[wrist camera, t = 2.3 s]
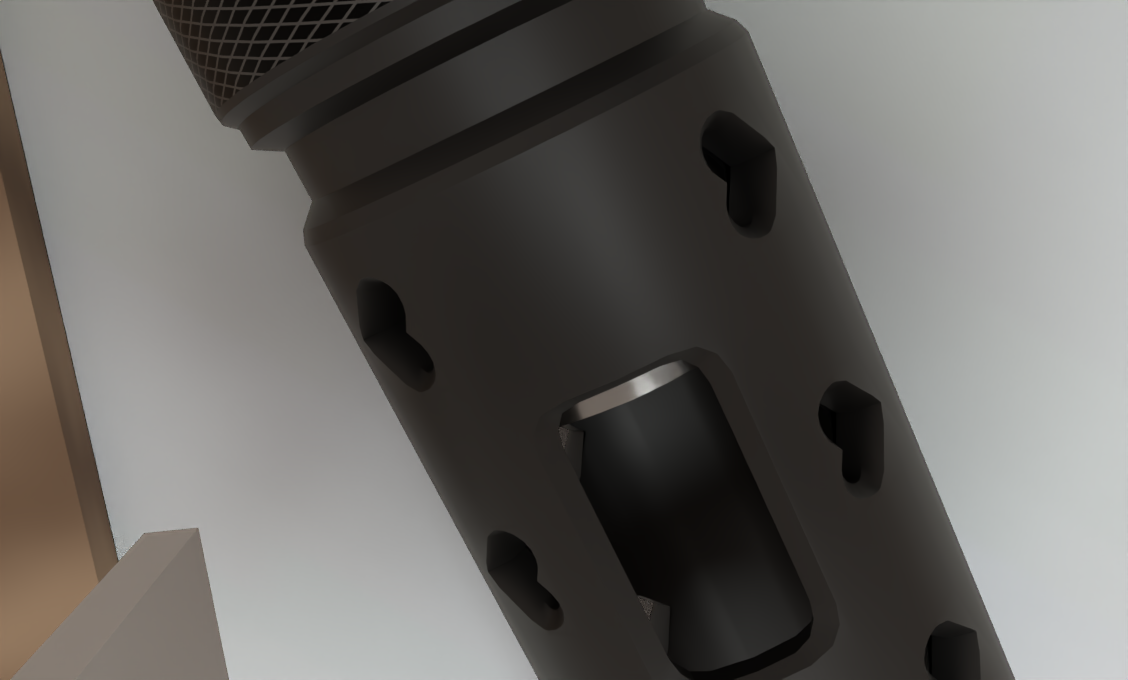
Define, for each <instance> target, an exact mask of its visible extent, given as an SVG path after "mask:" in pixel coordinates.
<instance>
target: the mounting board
mask: <svg viewBox="0 0 1128 680" xmlns="http://www.w3.org/2000/svg"><path fill="white" fill-rule="evenodd" d="M117 563H118V559H117V555H116V550H115V546H114V542H113V537H112V533H111V529H110V525H109V520H108V516H107V512H106V507H105V503H104V499H103V494H102V490H101V486H100V481H99V477H98V473H97V468H96V464H95V460H94V455H93V451H92V447H91V442H90V438H89V434H88V429H87V425H86V421H85V416H84V412H83V408H82V403H81V399H80V395H79V390H78V386H77V382H76V377H75V373H74V369H73V364H72V360H71V356H70V351H69V347H68V343H67V339H66V334H65V330H64V326H63V321H62V317H61V313H60V308H59V304H58V300H57V295H56V291H55V287H54V282H53V278H52V274H51V269H50V265H49V261H48V256H47V252H46V248H45V243H44V239H43V235H42V230H41V226H40V222H39V217H38V213H37V209H36V204H35V200H34V196H33V191H32V187H31V183H30V178H29V174H28V170H27V165H26V161H25V157H24V153H23V148H22V144H21V140H20V135H19V131H18V127H17V122H16V118H15V114H14V109H13V105H12V101H11V96H10V92H9V88H8V83H7V79H6V75H5V70H4V66H3V62H2V57H1V53H0V680H10V679H11V678H12V677H13V676H14V675H15V674H16V673H17V672H18V671H19V670H20V668H21V667H22V666H23V665H24V664H25V663H26V662H27V661H28V660H29V659H30V658H31V656H32V655H33V654H34V653H35V652H36V651H37V650H38V649H39V648H40V647H41V646H42V644H43V643H44V642H45V641H46V640H47V639H48V638H49V637H50V636H51V635H52V634H53V632H54V631H55V630H56V629H57V628H58V627H59V626H60V625H61V624H62V623H63V622H64V620H65V619H66V618H67V617H68V616H69V615H70V614H71V613H72V612H73V611H74V610H75V608H76V607H77V606H78V605H79V604H80V603H81V602H82V601H83V600H84V599H85V598H86V596H87V595H88V594H89V593H90V592H91V591H92V590H93V589H94V588H95V587H96V586H97V584H98V583H99V582H100V581H101V580H102V579H103V578H104V577H105V576H106V575H107V573H108V572H109V571H110V570H111V569H112V568H113V567H114V566H115V565H116V564H117Z"/></svg>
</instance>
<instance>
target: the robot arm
mask: <svg viewBox="0 0 1128 680" xmlns="http://www.w3.org/2000/svg"><path fill="white" fill-rule="evenodd" d="M10 680H229V678H228V673H227V668H226V663H225V658H224V653H223V648H222V643H221V638H220V633H219V628H218V623H217V618H216V613H215V608H214V604H213V599H212V594H211V589H210V584H209V579H208V574H207V569H206V564H205V559H204V554H203V549H202V544H201V539H200V534H199V529H198V528H191V529H181V530H172V531H162V532H152V533H144V534H143V535H142V536H141V537H140V539H139V540H138V541H137V542H136V543H135V544H134V545H133V546H132V547H131V548H130V549H129V551H128V552H127V553H126V554H125V555H124V556H123V557H122V558H121V559H120V560H119V561H118V563H117V564H116V565H115V566H114V567H113V568H112V569H111V570H110V571H109V572H108V573H107V575H106V576H105V577H104V578H103V579H102V580H101V581H100V582H99V583H98V584H97V586H96V587H95V588H94V589H93V590H92V591H91V592H90V593H89V594H88V595H87V596H86V598H85V599H84V600H83V601H82V602H81V603H80V604H79V605H78V606H77V607H76V608H75V610H74V611H73V612H72V613H71V614H70V615H69V616H68V617H67V618H66V619H65V620H64V622H63V623H62V624H61V625H60V626H59V627H58V628H57V629H56V630H55V631H54V632H53V634H52V635H51V636H50V637H49V638H48V639H47V640H46V641H45V642H44V643H43V644H42V646H41V647H40V648H39V649H38V650H37V651H36V652H35V653H34V654H33V655H32V656H31V658H30V659H29V660H28V661H27V662H26V663H25V664H24V665H23V666H22V667H21V668H20V670H19V671H18V672H17V673H16V674H15V675H14V676H13V677H12V678H11V679H10Z"/></svg>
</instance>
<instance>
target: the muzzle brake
mask: <svg viewBox="0 0 1128 680" xmlns="http://www.w3.org/2000/svg"><path fill="white" fill-rule="evenodd" d="M153 2H154V4H155V6H156V7H157V9H158V11H159V13H160V15H161V17H162V19H163V20H164V22H165V24H166V26H167V28H168V30H169V31H170V33H171V35H172V37H173V39H174V41H175V42H176V44H177V46H178V48H179V50H180V52H181V53H182V55H183V57H184V59H185V61H186V63H187V65H188V66H189V68H190V70H191V72H192V74H193V76H194V77H195V79H196V81H197V83H198V85H199V87H200V88H201V90H202V92H203V94H204V96H205V98H206V99H207V101H208V103H209V105H210V107H211V109H212V111H213V112H214V114H215V116H216V117H217V118H218V120H219V121H220V122H221V123H222V125H223V126H227V127H231V128H234V129H238V130H240V131H241V132H242V134H243V136H244V138H245V139H246V141H247V143H248V144H249V146H250V148H251V150H264V151H285V152H286V154H287V156H288V158H289V159H290V161H291V163H292V165H293V167H294V169H295V170H296V172H297V174H298V176H299V178H300V180H301V181H302V183H303V185H304V187H305V189H306V191H307V192H308V194H309V196H310V198H311V200H312V204H311V207H310V210H309V213H308V216H307V219H306V222H305V225H304V229H303V233H304V243H305V247H306V249H307V250H308V252H309V254H310V256H311V258H312V260H313V262H314V263H315V265H316V267H317V269H318V271H319V273H320V275H321V276H322V278H323V280H324V282H325V284H326V286H327V288H328V289H329V291H330V293H331V295H332V297H333V299H334V301H335V302H336V304H337V306H338V308H339V310H340V312H341V314H342V315H343V317H344V319H345V321H346V323H347V325H348V327H349V328H350V330H351V332H352V334H353V336H354V338H355V340H356V341H357V343H358V345H359V347H360V349H361V351H362V353H363V354H364V356H365V358H366V360H367V362H368V364H369V366H370V367H371V369H372V371H373V373H374V375H375V377H376V379H377V380H378V382H379V384H380V386H381V388H382V390H383V391H384V393H385V395H386V397H387V399H388V401H389V403H390V404H391V406H392V408H393V410H394V412H395V414H396V416H397V417H398V419H399V421H400V423H401V425H402V427H403V429H404V430H405V432H406V434H407V436H408V438H409V440H410V442H411V443H412V445H413V447H414V449H415V451H416V453H417V455H418V456H419V458H420V460H421V462H422V464H423V466H424V468H425V469H426V471H427V473H428V475H429V477H430V479H431V481H432V482H433V484H434V486H435V488H436V490H437V492H438V494H439V495H440V497H441V499H442V501H443V503H444V505H445V507H446V508H447V510H448V512H449V514H450V516H451V518H452V520H453V521H454V523H455V525H456V527H457V529H458V531H459V533H460V534H461V536H462V538H463V540H464V542H465V544H466V546H467V547H468V549H469V551H470V553H471V555H472V557H473V559H474V560H475V562H476V564H477V566H478V568H479V570H480V572H481V573H482V575H483V577H484V579H485V581H486V583H487V584H488V586H489V588H490V590H491V592H492V594H493V596H494V597H495V599H496V601H497V603H498V605H499V607H500V609H501V610H502V612H503V614H504V616H505V618H506V620H507V622H508V623H509V625H510V627H511V629H512V631H513V633H514V635H515V636H516V638H517V640H518V642H519V644H520V646H521V648H522V649H523V651H524V653H525V655H526V657H527V659H528V661H529V662H530V664H531V666H532V668H533V670H534V672H535V674H536V675H537V677H538V679H539V680H1015V678H1014V675H1013V673H1012V671H1011V668H1010V666H1009V663H1008V661H1007V658H1006V656H1005V654H1004V651H1003V649H1002V646H1001V644H1000V641H999V639H998V637H997V634H996V632H995V629H994V627H993V624H992V622H991V620H990V617H989V615H988V612H987V610H986V607H985V605H984V603H983V600H982V598H981V595H980V593H979V590H978V588H977V586H976V583H975V581H974V578H973V576H972V573H971V571H970V569H969V566H968V564H967V561H966V559H965V556H964V554H963V552H962V549H961V547H960V544H959V542H958V539H957V537H956V535H955V532H954V530H953V527H952V525H951V522H950V520H949V518H948V515H947V513H946V510H945V508H944V505H943V503H942V501H941V498H940V496H939V493H938V491H937V489H936V486H935V484H934V481H933V479H932V476H931V474H930V472H929V469H928V467H927V464H926V462H925V459H924V457H923V455H922V452H921V450H920V447H919V445H918V442H917V440H916V438H915V435H914V433H913V430H912V428H911V425H910V423H909V421H908V418H907V416H906V413H905V411H904V408H903V406H902V404H901V401H900V399H899V396H898V394H897V391H896V389H895V387H894V384H893V382H892V379H891V377H890V374H889V372H888V370H887V367H886V365H885V362H884V360H883V357H882V355H881V353H880V350H879V348H878V345H877V343H876V340H875V338H874V336H873V333H872V331H871V328H870V326H869V323H868V321H867V319H866V316H865V314H864V311H863V309H862V306H861V304H860V302H859V299H858V297H857V294H856V292H855V289H854V287H853V285H852V282H851V280H850V277H849V275H848V272H847V270H846V268H845V265H844V263H843V260H842V258H841V255H840V253H839V251H838V248H837V246H836V243H835V241H834V238H833V236H832V234H831V231H830V229H829V226H828V224H827V221H826V219H825V217H824V214H823V212H822V209H821V207H820V205H819V202H818V200H817V197H816V195H815V192H814V190H813V188H812V185H811V183H810V180H809V178H808V175H807V173H806V171H805V168H804V166H803V163H802V161H801V158H800V156H799V154H798V151H797V149H796V146H795V144H794V141H793V139H792V137H791V134H790V132H789V129H788V127H787V124H786V122H785V120H784V117H783V115H782V112H781V110H780V107H779V105H778V103H777V100H776V98H775V95H774V93H773V90H772V88H771V86H770V83H769V81H768V78H767V76H766V73H765V71H764V69H763V66H762V64H761V61H760V59H759V56H758V54H757V52H756V49H755V47H754V44H753V42H752V39H751V37H750V35H749V32H748V31H747V30H746V29H745V28H744V27H743V26H742V25H741V24H740V23H739V22H738V21H737V20H735V19H732V18H729V17H727V16H724V15H721V14H719V13H716V12H713V11H711V10H708V9H707V8H706V6H705V3H704V1H703V0H153ZM559 427H563V428H566V429H569V433H568V437H567V441H566V445H565V450H564V449H563V446H562V442H561V438H560V435H559V431H558V429H559ZM638 598H641V599H643V600H646V601H650V602H653V607H652V611H651V615H650V621H649V619H648V617H647V615H646V613H645V611H644V609H643V607H642V605H641V603H640V601H639V599H638Z"/></svg>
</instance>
